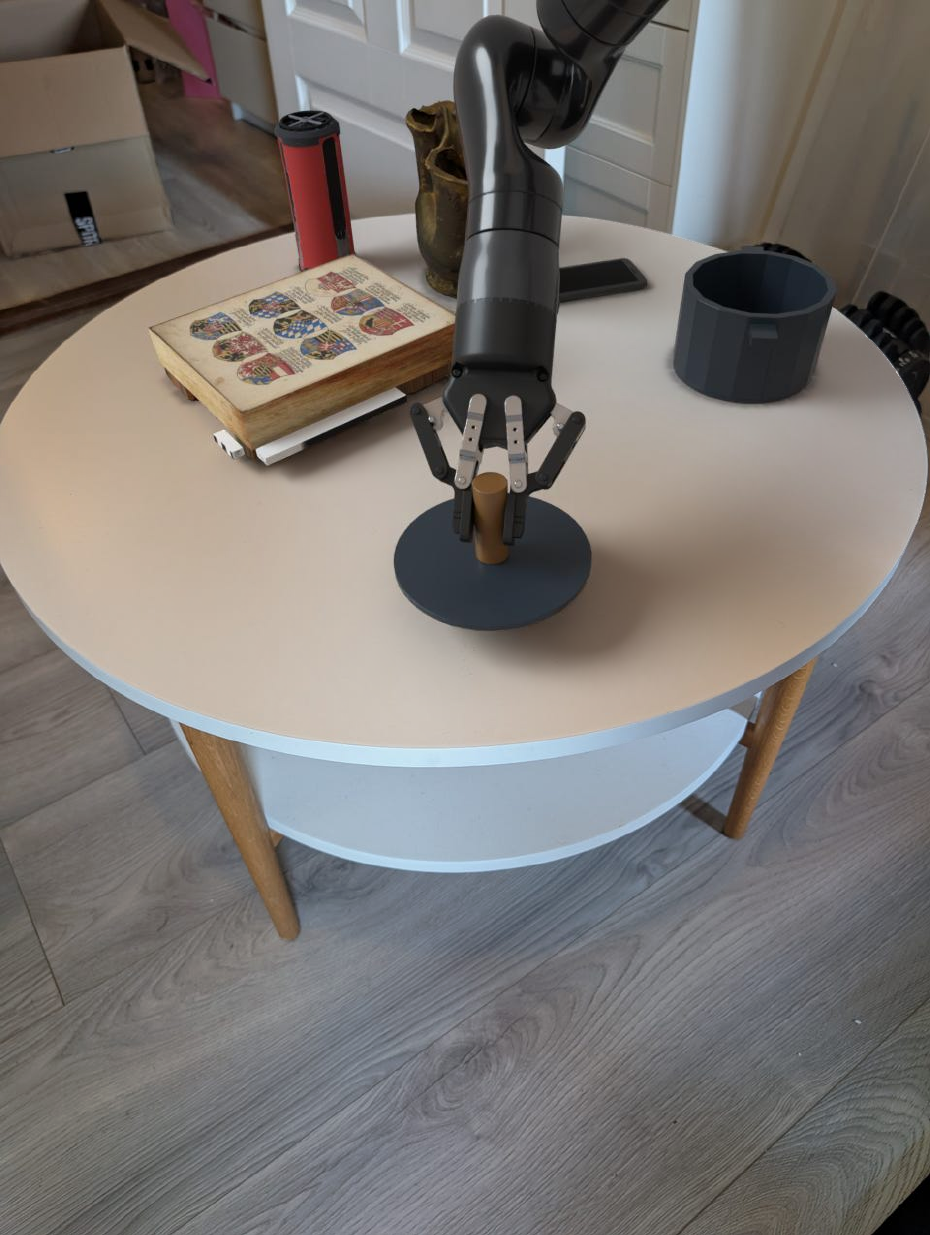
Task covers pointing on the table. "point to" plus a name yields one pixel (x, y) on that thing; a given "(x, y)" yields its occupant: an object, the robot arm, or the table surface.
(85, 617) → the table surface
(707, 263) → the pot
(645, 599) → the table surface
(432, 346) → the book
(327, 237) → the speaker
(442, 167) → the pottery vessel
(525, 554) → the lid
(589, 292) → the cell phone
